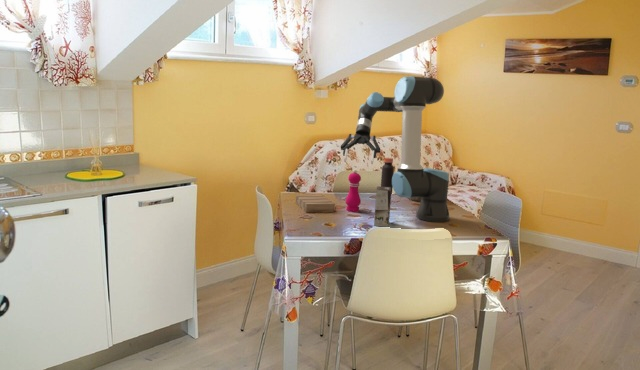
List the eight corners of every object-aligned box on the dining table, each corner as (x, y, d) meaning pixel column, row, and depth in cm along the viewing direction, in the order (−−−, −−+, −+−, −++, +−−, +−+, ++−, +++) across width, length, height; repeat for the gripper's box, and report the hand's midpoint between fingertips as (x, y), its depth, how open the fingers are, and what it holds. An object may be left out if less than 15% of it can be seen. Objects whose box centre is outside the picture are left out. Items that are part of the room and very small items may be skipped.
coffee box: (388, 227, 227) (391, 190, 224) (373, 225, 228) (376, 189, 225) (389, 222, 236) (392, 186, 233) (375, 220, 237) (377, 185, 234)
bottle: (394, 193, 303) (397, 158, 300) (385, 194, 299) (388, 159, 296) (386, 191, 309) (389, 157, 305) (377, 191, 305) (380, 157, 301)
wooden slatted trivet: (334, 211, 250) (334, 203, 249) (306, 212, 246) (306, 204, 245) (322, 202, 269) (322, 194, 268) (295, 203, 265) (295, 195, 264)
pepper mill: (350, 212, 250) (353, 171, 246) (342, 209, 256) (344, 168, 252) (363, 211, 254) (365, 170, 250) (354, 208, 260) (356, 168, 256)
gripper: (387, 135, 275) (383, 167, 263) (340, 132, 279) (334, 163, 267) (387, 125, 269) (383, 158, 257) (339, 122, 273) (333, 154, 261)
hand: (358, 161), depth 262 cm, fingers open, 13 cm apart
